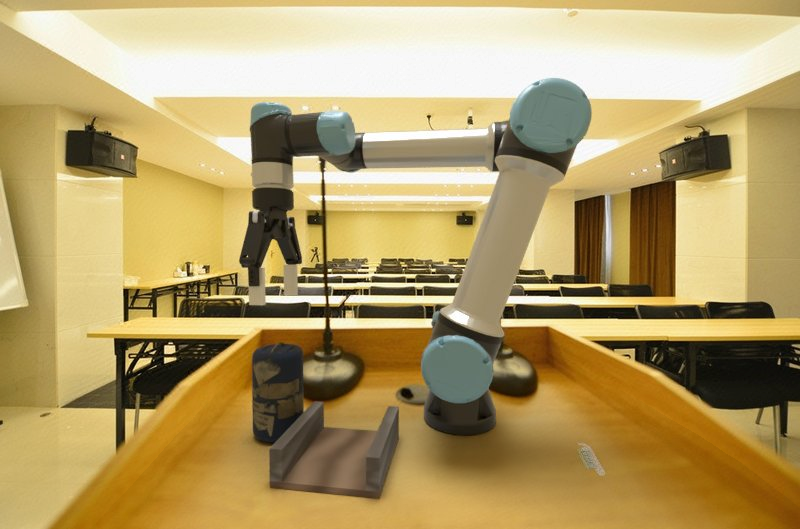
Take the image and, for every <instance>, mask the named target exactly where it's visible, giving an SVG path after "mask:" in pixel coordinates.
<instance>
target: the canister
mask: <svg viewBox="0 0 800 529" xmlns="http://www.w3.org/2000/svg"><path fill="white" fill-rule="evenodd" d="M251 360H252V361H251V363H252V364H251V365H252V366H251V374H252V376H251V377H252V379H251V380H252V384H251V398H252V399H251V403H252V404H251V407H252V408H251V409H252V432H253V433H252V434H253V435H254V437H255V438H256V439H258V440H260V441H262V442H266V443H267V442H269V443H275V442H276V441H277V440H278V439H279V438H280V437H281V436H282V435H283V434H284V433H285V432H286V431H287V429H288V428H289V427H290V426H291V425H292V424H293V423H294V422H295V421H296V420H297V419H298V418H299V417H300V416H301V415H302V414H303V413H304V408H305V407H304V351H303V348H301V347H300V346H299V345H297V344H292V343H284V342H281V341H280V342H277V343H275V344H268V345H263V346H261V347H259V348H256V349H255V350H254V351H253V352H252V357H251Z"/></svg>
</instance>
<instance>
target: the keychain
mask: <svg viewBox="0 0 800 529" xmlns="http://www.w3.org/2000/svg"><path fill="white" fill-rule="evenodd" d="M577 444H578V446H583V447H580V448H576V451H577V453H578V454H577V455H578V456H579V458H580V460H581V462H582V464H583V466H584V468H585V469H589V470H590V469H591V470H592V469H594V470H595V472H596V473H597V474H598V476H600V477H603V476H605V475H606V472H605V469H604V467H603V466H602V465H601V464H602V463H600V460H599V459H598V457H597V456H596V454H595V452H594V450H593V449H592V447H591V446H590V445H588V444H586V443H583V442H577Z"/></svg>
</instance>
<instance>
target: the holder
mask: <svg viewBox="0 0 800 529" xmlns="http://www.w3.org/2000/svg"><path fill="white" fill-rule="evenodd" d="M324 405H325V404H324V401H315V400H314V401H312V403H311V404H310V405H309V406H308V407H307V408H306V409H305V411H304V413H303V414H302V415H301V416H300V417H299V418H298V419H297V420H296V421H295V422H294V423H293V424H292V425H291V426H290V427H289V428H288V429H287V431H286V432H285V433H284V434H283V435H282V436H281V437H280V438H279V439H278V440H277V441H276V442H273V444H272V445H271V446H270V447H269V449H268V451H269V452H268V457H269V488H271V489H282V490H292V491H300V492H301V491H302V492H303V491H304V492H309V493H310V492H311V493H320V494H330V495H341V496H350V497H360V498H371V499H380V498H381V495H382V492H383V488H384V486H385V482H386V481H387V480H386V479H387V475H388V473H389V470H390V467H391V465H392V461H393V458H394V454H395V451H396V448H397V445H398V442H399V439H400V433H399V432H400V431H399V430H400V417H399V416H400V408H399V406H394V405H393V406H392V405H391V406H390V405H388V407H387V408H386V411H385V413H384V415H383V417H382V420H381V422H380V424H379V426H378V429H377V430H372V429H371V430H370V429H356V428H355V429H354V428H345V427H343V428H342V427H331V426H330V427H329V426H325V411H324V410H325V406H324Z"/></svg>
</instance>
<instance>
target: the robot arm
mask: <svg viewBox="0 0 800 529" xmlns="http://www.w3.org/2000/svg"><path fill="white" fill-rule="evenodd" d="M592 114H593V112H592V104H591V101H590V99H589V98H588V95H587V94H586V93H585V91H584V90H583V88H581V87H580V86H579V85H577V83H574V82H573V81H570V80H568V79H565V78H560V77H548V78H543V79H539V80H536V81H534V82H533V83H531V84H528V86H526V87H525V88H524V89H523V90H522V91H521V92H520V94H518V96H517V98H516V99H515V100H514V101H513V102H512V105H511V108H510V112H509V118H508V120H505V121H504V120H503V121H492V122H491V123H490V124H489V125H487V127H476V128H474V127H472V128H449V129H447V128H444V129H443V128H442V129H422V130H419V129H418V130H417V129H416V130H395V131H394V130H393V131H370V132H369V131H368V132H356V128H355V123H354V121H353V118H352V116H351V115H350V114H349V113H348V112H347V111H344V110H325V111H322V112H321V111H319V112H318V111H317V112H310V113H309V112H308V113H301V114H292V110H291V109H290V107H288V106H287V104H286V105H285V104H284V103H280V102H277V101H276V102H275V101H274V102H271V101H262V102H261V101H260V102H257V103H255V104H254V105H253V106H252V107H251V110H250V123H249V124H250V125H249V132H250V146H251V149H250V151H251V173H250V176H251V186H253V187H254V188H253V190H252V191H251V198H252V201H251V202H252V203H251V204H252V208H253V209H254V210H253V211H249V212H248V219H247V220H248V223H247V227H246V231H245V235H244V240H243V243H242V247H241V251H240V255H239V260H238V262H239V264H240V265H241V268H243V269H245V268H247V278H248V280H247V281H248V282H247V283H248V305H249V306H266V305H267V301H266V300H267V299H266V298H267V297H266V272H265V271H266V270H265V267H262V266H263V263H264V261H265V258H266V256H267V254H268V251H269V247H270V246H271V242H272V240H274V241H276V243H277V245H278V247H279V250H280V252H281V255H282V257H283V259H284V262H285V264H283V291H284V292H283V295H284V296H285V297H286V296H287V297H288V296H289V297H291V296H293V297H295V296H296V297H297V296H299V289H298V288H299V287H298V281H299V280H298V265H301V264H303V256H302V251H301V247H300V242H299V238H298V235H297V234H298V233H297V230H296V220H295V217H294V216H288V215H287V212H288V211H289V212H290V211H292V210H294V207H295V203H294V202H295V201H294V199H295V198H294V192H293V190H291V189H293V188H294V183H295V182H294V164H293V163H294V158H295V157H296V158H301V157H319V158H321V159H322V160H324V161H326V162H327V163H329V164H330V165H332V166H334V167H335V168H336V169H338V170H339V171H341V172H346V173H349V174H350V173H351V174H352V173H356V172H358V171H361V170H365V169H404V168H405V169H410V168H411V169H415V168H416V169H417V168H418V169H419V168H420V169H421V168H423V169H426V168H428V169H429V168H473V167H474V168H479V167H480V168H481V167H482V168H483V167H485V168H486V169H487V170H488V171H489V172H492V173H493V172H495V173H496V172H497V173H498V176H497V179H496V181H495V185H494V187H493V189H492V192H491V195H490V198H489V201H488V203H487V206H486V208H485V212H484V215H483V217H482V219H481V220H482V221H481V223H480V225H479V228H478V231H477V233H476V236H475V239H474V242H473V244H472V247H471V250H470V252H469V256H468V258H467V261H466V264H465V267H464V269H463V272H462V275H461V278H460V280H459V283H458V286H457V288H456V292H455V293H454V297H453V300H452V302H451V303H450V304H448V305H446V306H444V307H442V308H440V310H437V311H434V312H433V314H432V319H431V320H432V321H431V322H430V324H431V327H432V328H431V331H432V332H431V335H430V336H429V337H430V338H429V340H428V342H427V346H426V347H425V349H423V351H422V354H421V359H420V363H421V364H420V370H421V375H422V379H423V381H424V383H425V385H426V387H427V388H428V393H427V396H426V399H425V402H424V406H423V420H424V421H425V423H426V424H427V425H428V426H430V427H431V428H432V429H434V430H437V431H440V432H442V433H446V434H452V435H457V436H458V435H459V436H472V435H479V434H484V433H485V432H488V431H491V430H492V429H493V428H494V427H495V426H496V423H497V410H496V407H495V404H494V400H493V397H492V395H491V391H490V389H489V387H490V385H491V383H492V382H493V378H494V372H495V370H494V363H495V361H496V357H497V354H498V352H499V349H500V348H501V345H502V342H503V340H504V337H505V332H504V330H503V328H502V325H501V322H500V321H501V318H502V316H503V313H504V311H505V307H506V305H507V303H508V301H509V297H510V294H511V291H512V289H513V286H514V284H515V281H516V279H517V276H518V273H519V271H520V268H521V266H522V262H523V261H524V257H525V255H526V252H527V250H528V247H529V244H530V242H531V238H532V236H533V234H534V232H535V229H536V226H537V225H538V224H537V223H538V221H539V218H540V216H541V213H542V210H543V207H544V205H545V202H546V200H547V197H548V194H549V191H550V189H551V188H552V187H553V186H555V185H557V184H558V183H561V182H563V181H564V179H565V176H566V174H567V172H568V169H569V168H570V164H571V161H572V160H573V156H574V153H575V151H576V149H577V146H578V144H579V143H580V142H581V141H582V140H583V139H584V137H586V135H587V134H588V132H589V131H588V130H589V128H590V125H591V122H592V117H593V116H592Z"/></svg>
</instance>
